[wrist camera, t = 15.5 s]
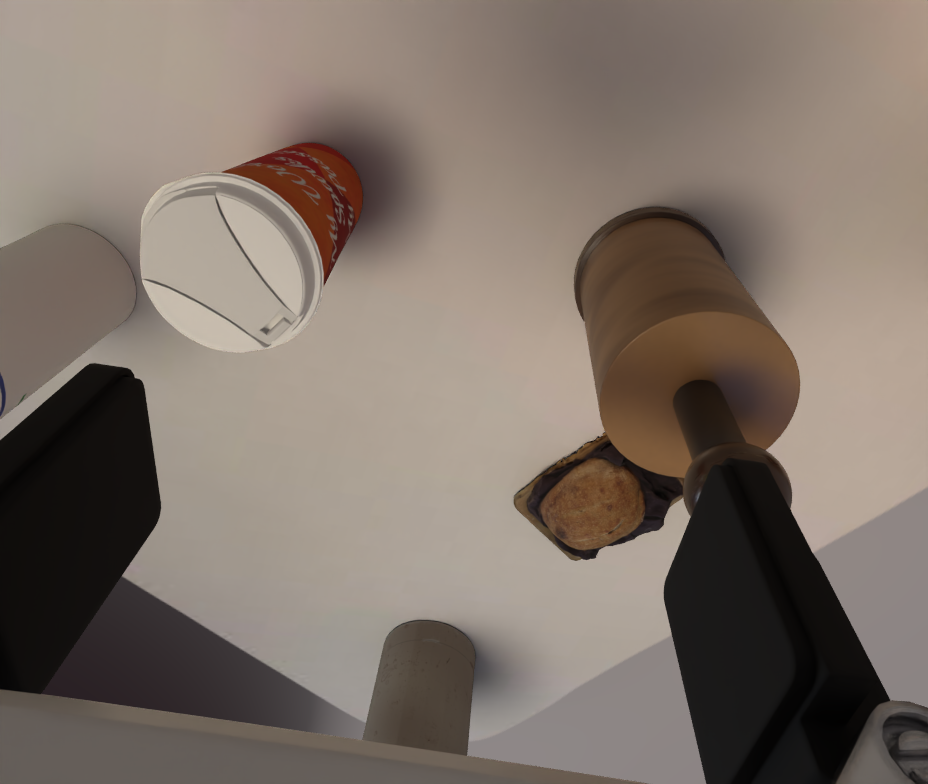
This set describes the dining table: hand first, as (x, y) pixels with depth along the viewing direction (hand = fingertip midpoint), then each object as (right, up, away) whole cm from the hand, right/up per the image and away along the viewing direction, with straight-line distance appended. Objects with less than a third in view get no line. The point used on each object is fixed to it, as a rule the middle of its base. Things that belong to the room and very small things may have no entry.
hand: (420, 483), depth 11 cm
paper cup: (-8, +13, +28) cm, 32 cm away
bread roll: (+10, -6, +37) cm, 39 cm away
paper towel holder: (+12, +8, +29) cm, 32 cm away
